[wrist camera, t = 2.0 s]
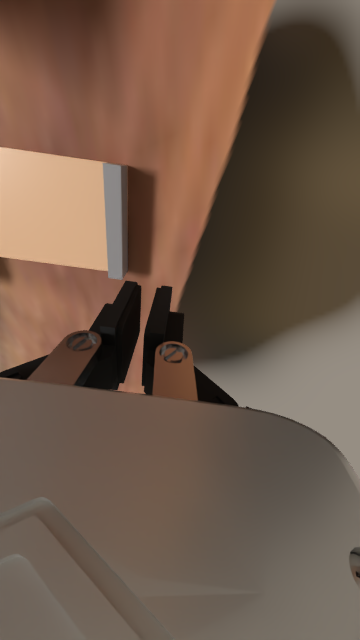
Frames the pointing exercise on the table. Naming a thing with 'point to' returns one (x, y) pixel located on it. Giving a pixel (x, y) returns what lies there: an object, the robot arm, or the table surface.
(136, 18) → the table surface
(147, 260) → the table surface
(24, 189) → the tan flat board
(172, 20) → the table surface
